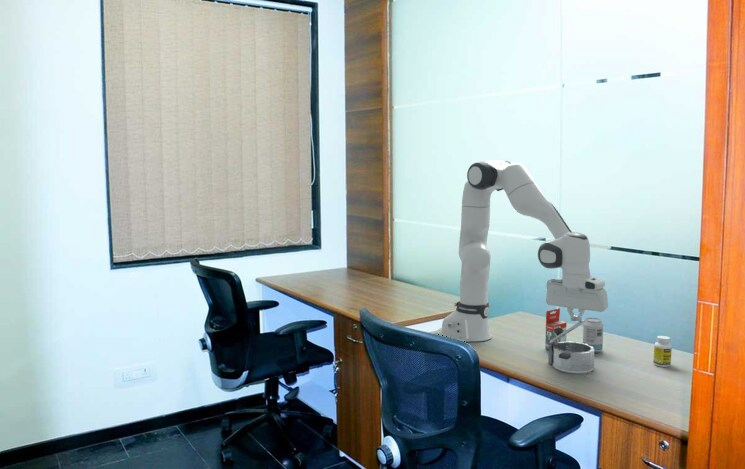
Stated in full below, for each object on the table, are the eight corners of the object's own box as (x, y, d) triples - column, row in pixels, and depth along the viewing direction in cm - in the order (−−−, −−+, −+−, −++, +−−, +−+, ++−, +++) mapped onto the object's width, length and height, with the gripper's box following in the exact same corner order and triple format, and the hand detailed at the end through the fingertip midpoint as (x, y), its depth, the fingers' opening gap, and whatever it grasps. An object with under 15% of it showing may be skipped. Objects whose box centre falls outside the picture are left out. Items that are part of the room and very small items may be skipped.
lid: (543, 349, 203) (537, 340, 204) (560, 339, 214) (554, 330, 215) (578, 327, 194) (571, 317, 195) (594, 318, 205) (588, 309, 207)
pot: (539, 368, 203) (540, 349, 202) (560, 355, 216) (560, 337, 215) (582, 378, 194) (583, 357, 193) (601, 364, 207) (602, 344, 206)
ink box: (566, 347, 226) (567, 309, 224) (552, 351, 221) (553, 313, 219) (558, 345, 229) (559, 308, 227) (544, 349, 224) (545, 311, 223)
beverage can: (600, 348, 224) (601, 317, 223) (604, 354, 217) (605, 322, 216) (580, 347, 225) (581, 316, 224) (584, 353, 218) (585, 321, 217)
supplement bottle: (663, 368, 202) (665, 340, 201) (649, 363, 207) (651, 336, 206) (674, 365, 205) (675, 338, 203) (660, 361, 209) (661, 334, 208)
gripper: (542, 279, 205) (542, 318, 206) (603, 285, 192) (602, 327, 193) (550, 276, 210) (550, 315, 211) (609, 282, 197) (609, 323, 198)
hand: (576, 321), depth 202 cm, fingers closed
